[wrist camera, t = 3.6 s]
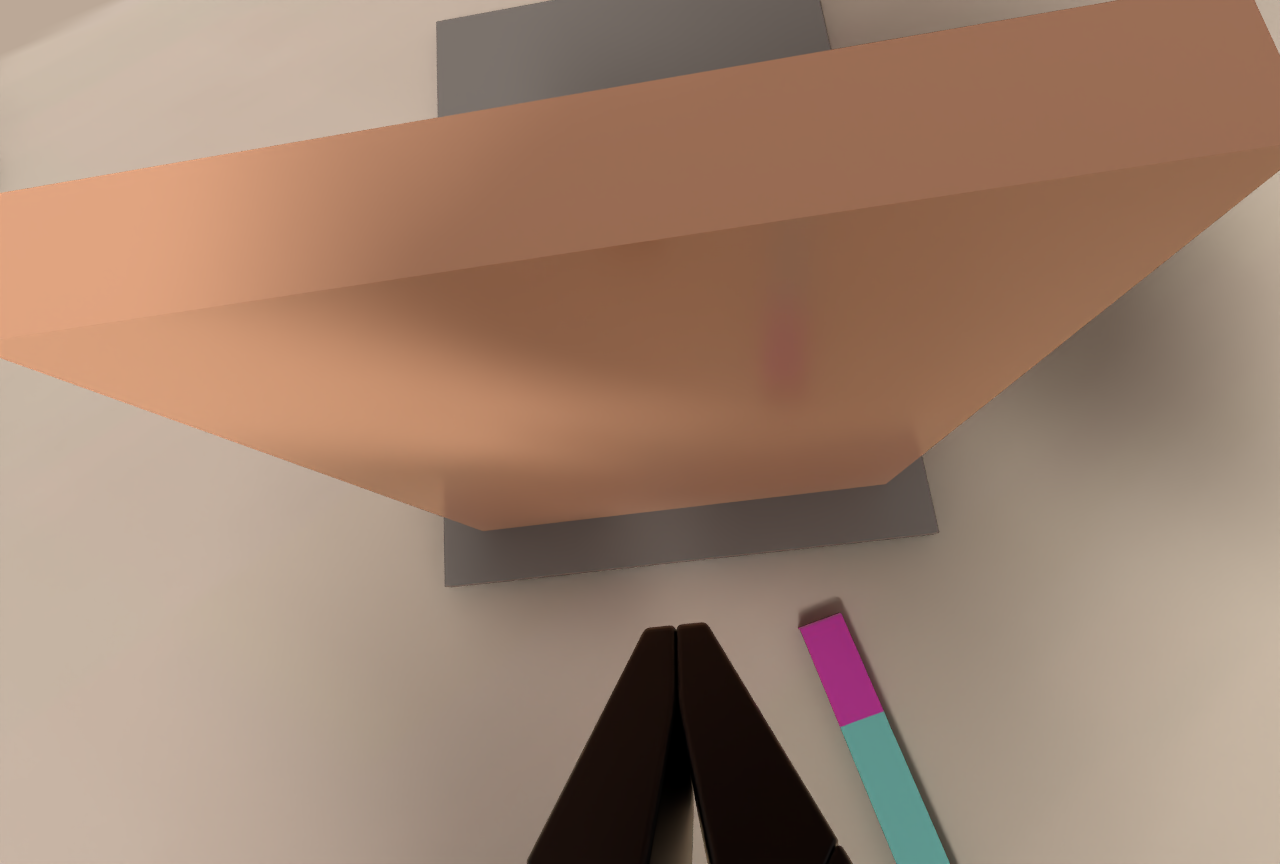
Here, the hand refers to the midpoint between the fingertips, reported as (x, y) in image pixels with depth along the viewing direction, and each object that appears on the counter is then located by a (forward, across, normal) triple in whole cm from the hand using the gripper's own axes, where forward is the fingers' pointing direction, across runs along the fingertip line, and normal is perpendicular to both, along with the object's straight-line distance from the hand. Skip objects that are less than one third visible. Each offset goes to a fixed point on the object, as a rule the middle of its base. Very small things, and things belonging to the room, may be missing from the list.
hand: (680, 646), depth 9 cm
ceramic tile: (+3, 0, -2) cm, 4 cm away
